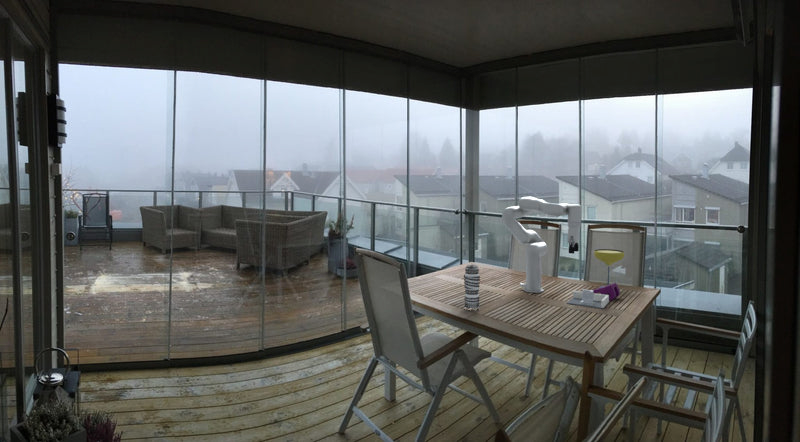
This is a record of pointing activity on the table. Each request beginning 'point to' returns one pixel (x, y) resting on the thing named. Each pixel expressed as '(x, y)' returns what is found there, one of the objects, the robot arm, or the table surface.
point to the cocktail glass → (609, 257)
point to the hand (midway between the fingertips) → (573, 252)
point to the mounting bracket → (608, 291)
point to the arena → (598, 300)
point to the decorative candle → (471, 286)
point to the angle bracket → (587, 297)
